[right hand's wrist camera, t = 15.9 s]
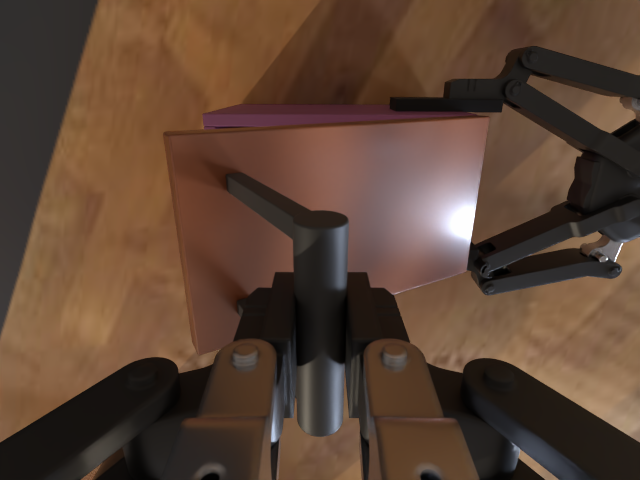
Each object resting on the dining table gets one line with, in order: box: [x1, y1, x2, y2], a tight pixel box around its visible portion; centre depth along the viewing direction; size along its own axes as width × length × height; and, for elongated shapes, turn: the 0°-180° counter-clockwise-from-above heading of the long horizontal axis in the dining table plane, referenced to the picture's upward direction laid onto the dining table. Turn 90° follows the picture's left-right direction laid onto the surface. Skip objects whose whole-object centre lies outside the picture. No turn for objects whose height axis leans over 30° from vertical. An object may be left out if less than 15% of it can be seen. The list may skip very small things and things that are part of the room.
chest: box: [203, 104, 476, 130], centre depth 29 cm, size 16×9×10 cm, turn 90°
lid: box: [163, 115, 490, 437], centre depth 17 cm, size 16×9×9 cm, turn 89°
